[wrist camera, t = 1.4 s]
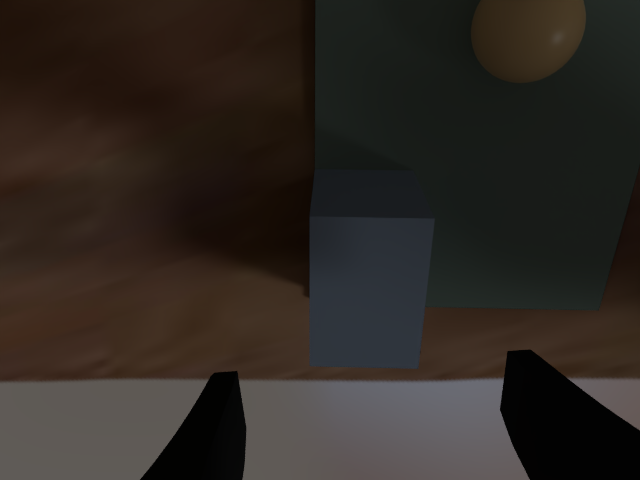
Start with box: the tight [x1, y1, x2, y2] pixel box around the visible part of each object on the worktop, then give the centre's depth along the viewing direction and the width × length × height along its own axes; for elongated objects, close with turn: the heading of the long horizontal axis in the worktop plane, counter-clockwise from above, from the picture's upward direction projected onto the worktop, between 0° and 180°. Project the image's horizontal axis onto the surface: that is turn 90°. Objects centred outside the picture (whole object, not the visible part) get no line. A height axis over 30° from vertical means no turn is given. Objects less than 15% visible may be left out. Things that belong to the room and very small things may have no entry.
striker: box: [310, 169, 435, 369], centre depth 20 cm, size 4×6×5 cm, turn 0°
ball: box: [471, 0, 586, 83], centre depth 17 cm, size 4×4×4 cm
